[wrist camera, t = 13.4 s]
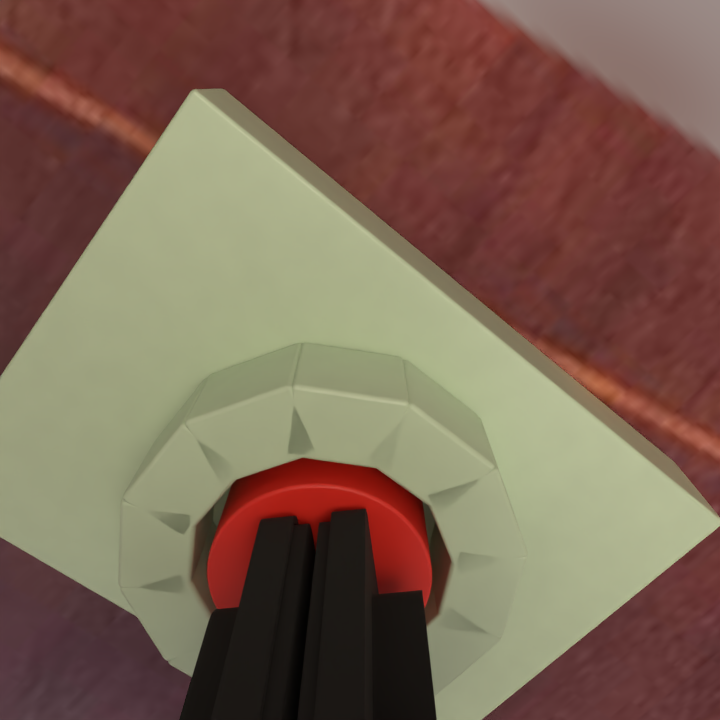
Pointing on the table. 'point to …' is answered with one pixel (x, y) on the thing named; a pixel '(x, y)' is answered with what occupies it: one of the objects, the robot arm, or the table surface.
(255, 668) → the robot arm
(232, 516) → the button
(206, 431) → the button block
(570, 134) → the table surface
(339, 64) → the table surface
